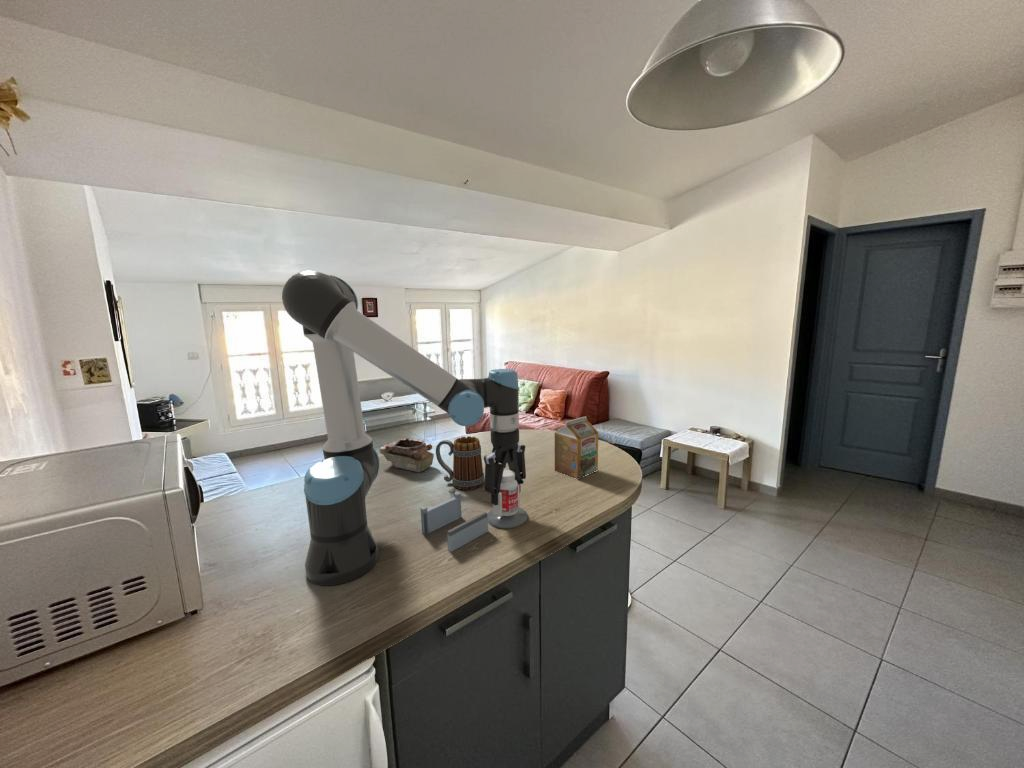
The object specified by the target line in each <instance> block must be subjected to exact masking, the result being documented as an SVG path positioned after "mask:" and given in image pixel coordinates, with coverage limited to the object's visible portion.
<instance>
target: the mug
mask: <svg viewBox="0 0 1024 768" xmlns="http://www.w3.org/2000/svg"><path fill="white" fill-rule="evenodd" d="M480 443H481V441H480V439H479V438H478V437H476V436H468V435H467V436H461V437H457V438H456V439H454V441H453V442H452V441H451V440H449V439H443V440H440V441H439V442H438V443H437V445H436V447H435V457H436V459H437V462H438V464H439V466H441V468H442V469H444V471H446V473H448V474H445V475H444V476H443V479H444V481H445V482H447V483H448V482H449V483H450V482H452V485H453V487H455V488H456V489H458V490H461V491H462V490H463V491H471V490H475V489H479V488H480V487H482V486H483V484H485V472H484V469H483V468H484V467H483V461H482V445H481V444H480ZM442 445H447V446H448V447H449V452H448V453H447V454H448V456H450V457H451V456H452V455H453V458H452V459H453V462H452V465H453V466H452V468H451V467H450V466H449V465H447V464H446V462H444V460H443V458H442V455H441V446H442ZM448 475H449V476H448Z"/></svg>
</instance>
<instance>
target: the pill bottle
mask: <svg viewBox="0 0 1024 768" xmlns="http://www.w3.org/2000/svg"><path fill="white" fill-rule="evenodd" d="M499 492H501V493H502V516H511V515H514V514H516V513H517V511H518V483H517V481H516V480H515V473H514V472H513V471H511V470H509V469H504V471H503V476H502V481H501V486H500V491H499Z"/></svg>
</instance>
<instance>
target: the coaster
mask: <svg viewBox="0 0 1024 768" xmlns="http://www.w3.org/2000/svg"><path fill="white" fill-rule="evenodd" d="M487 517H488V525H491V527H495V528H498V529H506V530H507V529H515V528H518V527H520V526H522V525H524V524H526V522H527V521H528V513H527V511H526V510H525V509H524V508H522V507H518V511H517V513H516V514H514V515H511V516H501V517H499V516H497V515H495V514H493V508H491V509H490V510H489V511H488V512H487Z"/></svg>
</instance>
